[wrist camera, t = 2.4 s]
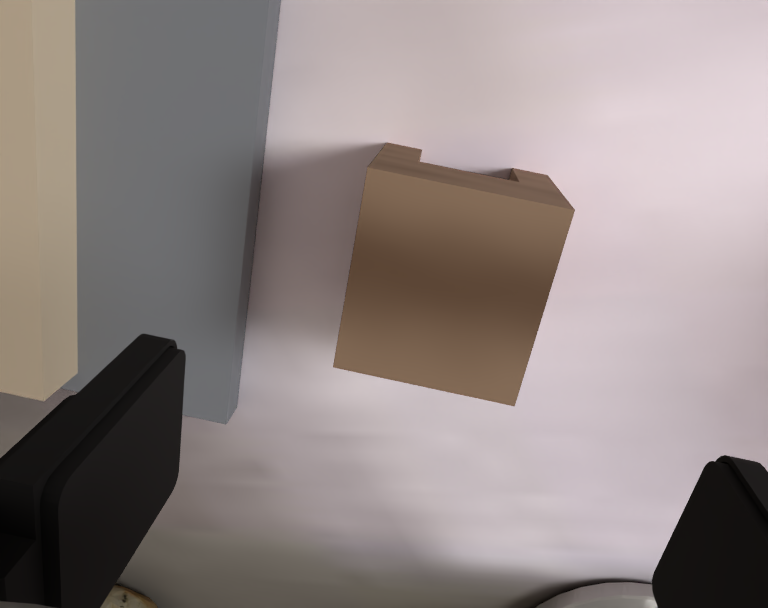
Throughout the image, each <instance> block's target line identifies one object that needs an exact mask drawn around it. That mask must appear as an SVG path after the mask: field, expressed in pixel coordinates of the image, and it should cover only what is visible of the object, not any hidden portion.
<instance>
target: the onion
mask: <svg viewBox="0 0 768 608" xmlns="http://www.w3.org/2000/svg"><path fill="white" fill-rule="evenodd" d="M100 608H158V607H157V605H156V604H155V603H154V602H153V601H152V600H151V599H150V598H148V597H146V596H143V595H141V594H138V593H136V592H134V591H132V590H130V589H128V588H125V587H122V586H117V585H114V586H113V588H112V590H111V591H110V593H109V595H108V596H107V598H106V599H105V601H104V603H103V604H102V606H101V607H100Z"/></svg>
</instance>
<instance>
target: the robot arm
mask: <svg viewBox="0 0 768 608" xmlns="http://www.w3.org/2000/svg"><path fill="white" fill-rule="evenodd" d="M185 363H186V354H185V351H184V350H181V349H177V344H176V341H175V340H173V339H168V338H163V337H158V336H154V335H149V334H141V335H139V336H138V337H137V338H136V339H135V340H134V341H133V342H132V343H131V344H129V345H128V346H127V347H126V348H125V349H124V350H123V351H122V352H121V353H120V354H119V355H118V356H117V357H116V358H115V359H113V360H112V361H111V362H110V363H109V364H108V365H107V366H106V367H105V368H104V369H103V370H102V371H101V372H100V373H99V374H97V375H96V376H95V377H94V378H93V379H92V380H91V381H90V382H89V383H88V384H87V385H86V386H85V387H84V388H83V389H81V390H80V391H79V392H78V393H77V394H76V395H71V396H69V397H68V398H66V399H65V400H63V401H62V402H61V403H60V404H59V405H58V406H57V407H56V408H55V409H53V410H52V411H51V412H50V413H49V414H48V415H47V416H46V417H45V418H44V419H43V420H42V421H40V422H39V423H38V424H37V425H36V426H35V427H34V428H33V429H32V430H31V431H30V432H29V433H27V434H26V435H25V436H24V437H23V438H22V439H21V440H20V441H19V442H18V443H17V444H15V445H14V446H13V447H12V448H11V449H10V450H9V451H8V452H7V453H6V454H5V455H4V456H2V457H1V458H0V608H100V607H101V606H102V604H103V603H104V601H105V599H106V598H107V596H108V595H109V593H110V591H111V590H112V588H113V586H114V585H115V583H116V582H117V580H118V578H119V577H120V575H121V574H122V572H123V570H124V569H125V567H126V566H127V564H128V562H129V561H130V559H131V557H132V556H133V554H134V553H135V551H136V549H137V548H138V546H139V545H140V543H141V541H142V540H143V538H144V537H145V535H146V533H147V532H148V530H149V528H150V527H151V525H152V524H153V522H154V520H155V519H156V517H157V516H158V514H159V512H160V511H161V509H162V508H163V506H164V504H165V503H166V501H167V499H168V498H169V496H170V495H171V493H172V491H173V489H174V487H175V484H176V481H177V478H178V473H179V460H180V443H181V427H182V411H183V395H184V379H185ZM536 608H768V472H767V471H766V469H765V468H764V467H763V466H762V465H761V464H760V463H758V462H754V461H750V460H745V459H740V458H735V457H730V456H726V455H724V456H721V457H719V458H718V459H717V460H716V462H714V461H711V462H709V463H707V464H706V466H705V467H704V469H703V471H702V473H701V475H700V478H699V480H698V482H697V484H696V486H695V488H694V490H693V492H692V494H691V496H690V498H689V501H688V503H687V505H686V507H685V509H684V511H683V513H682V515H681V517H680V519H679V521H678V524H677V526H676V528H675V530H674V532H673V534H672V536H671V538H670V540H669V542H668V544H667V547H666V549H665V551H664V553H663V555H662V557H661V559H660V561H659V563H658V565H657V567H656V570H655V572H654V575H653V579H652V585H651V584H642V583H633V582H621V583H602V584H597V585H591V586H585V587H580V588H577V589H574V590H571V591H568V592H565V593H562V594H559V595H557V596H555V597H553V598H551V599H550V600H548V601H546V602H544V603H542V604H540V605H538V606H537V607H536Z"/></svg>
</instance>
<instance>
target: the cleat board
mask: <svg viewBox="0 0 768 608" xmlns="http://www.w3.org/2000/svg"><path fill="white" fill-rule="evenodd" d="M280 3H281V0H0V392H4V393H8V394H13V395H17V396H22V397H27V398H31V399H36V400H40V401H45V400H46V399H47V398H49V397H50V396H51V395H52V394H53V393H55V392H56V391H57V390H58V389H59V388H62V389H67V390H71V391H76V392H79V391H80V390H81V389H83V388H84V387H85V386H86V385H87V384H88V383H89V382H90V381H91V380H92V379H93V378H94V377H95V376H96V375H97V374H99V373H100V372H101V371H102V370H103V369H104V368H105V367H106V366H107V365H108V364H109V363H110V362H111V361H112V360H113V359H115V358H116V357H117V356H118V355H119V354H120V353H121V352H122V351H123V350H124V349H125V348H126V347H127V346H128V345H129V344H131V343H132V342H133V341H134V340H135V339H136V338H137V337H138V336H139V335H141V334H149V335H154V336H158V337H163V338H168V339H173V340H175V341H176V344H177V349H181V350H184V351H185V354H186V363H185V379H184V395H183V411H182V415H185V416H190V417H194V418H199V419H204V420H208V421H213V422H217V423H222V424H227V422H228V421H229V419H230V418H231V416H232V414H233V413H234V411H235V410H236V408H237V401H238V392H239V383H240V374H241V364H242V355H243V346H244V337H245V327H246V318H247V309H248V299H249V290H250V281H251V272H252V262H253V253H254V244H255V235H256V225H257V216H258V207H259V197H260V188H261V179H262V170H263V160H264V151H265V142H266V133H267V123H268V114H269V105H270V95H271V86H272V77H273V68H274V58H275V49H276V40H277V31H278V21H279V12H280Z"/></svg>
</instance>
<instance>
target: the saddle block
mask: <svg viewBox="0 0 768 608" xmlns="http://www.w3.org/2000/svg"><path fill="white" fill-rule="evenodd" d="M421 152H422V150H421V149H416V148H411V147H406V146H402V145H397V144H392V143H386V145H385V146H384V147H383V148H382V150H381V151H380V152H379V153H378V155H377V156H376V157H375V159H374V160H373V161H372V162H371V164H370V165H369V166H368V167H367V173H366V179H365V185H364V190H363V196H362V202H361V208H360V214H359V219H358V225H357V231H356V237H355V243H354V248H353V254H352V260H351V266H350V272H349V277H348V283H347V289H346V295H345V301H344V306H343V312H342V318H341V324H340V330H339V335H338V341H337V347H336V353H335V359H334V365H333V367H334V368H339V369H344V370H348V371H353V372H358V373H362V374H367V375H372V376H376V377H381V378H386V379H390V380H395V381H400V382H404V383H409V384H413V385H418V386H423V387H427V388H432V389H437V390H441V391H446V392H451V393H455V394H460V395H465V396H469V397H474V398H479V399H483V400H488V401H493V402H497V403H502V404H506V405H511V406H515V403H516V400H517V396H518V393H519V390H520V387H521V383H522V380H523V377H524V374H525V370H526V367H527V364H528V361H529V357H530V354H531V351H532V348H533V344H534V341H535V338H536V335H537V331H538V328H539V325H540V322H541V318H542V315H543V312H544V309H545V305H546V302H547V299H548V296H549V292H550V289H551V286H552V283H553V279H554V276H555V273H556V270H557V266H558V263H559V260H560V257H561V253H562V250H563V247H564V244H565V240H566V237H567V234H568V231H569V227H570V224H571V221H572V218H573V214H574V211H575V210H574V208H573V207H572V206H571V204H570V203H569V202H568V201H567V199H566V198H565V197H564V196H563V194H562V193H561V192H560V190H559V189H558V188H557V187H556V185H555V184H554V183H553V182H552V180H551V179H550V178H549V176H548V175H544V174H539V173H534V172H529V171H524V170H519V169H514V168H512V171H511V175H510V179H509V180H506V179H501V178H497V177H492V176H487V175H482V174H477V173H472V172H467V171H462V170H457V169H453V168H448V167H443V166H438V165H433V164H428V163H423V162H420V157H421Z"/></svg>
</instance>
